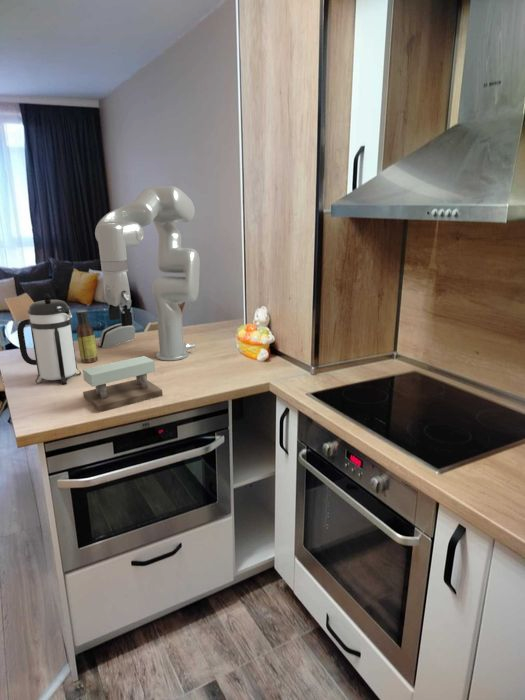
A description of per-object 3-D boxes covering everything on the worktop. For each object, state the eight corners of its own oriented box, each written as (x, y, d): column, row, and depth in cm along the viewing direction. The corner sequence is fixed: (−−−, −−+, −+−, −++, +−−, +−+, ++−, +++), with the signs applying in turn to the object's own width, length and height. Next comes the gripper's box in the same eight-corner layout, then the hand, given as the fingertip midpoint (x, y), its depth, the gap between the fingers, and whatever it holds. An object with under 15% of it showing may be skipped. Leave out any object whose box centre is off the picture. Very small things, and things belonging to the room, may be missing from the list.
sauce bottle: (101, 358, 183) (95, 309, 177) (92, 363, 177) (86, 312, 172) (85, 358, 184) (79, 308, 179) (77, 363, 178) (70, 312, 173)
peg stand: (144, 383, 157) (142, 363, 155) (162, 395, 146) (160, 374, 144) (83, 397, 145) (81, 376, 143) (99, 412, 135) (96, 389, 133)
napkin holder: (127, 338, 213) (130, 318, 208) (134, 343, 211) (137, 323, 206) (96, 346, 200) (98, 326, 195) (103, 352, 198) (106, 331, 193)
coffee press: (76, 368, 173) (65, 287, 164) (86, 381, 160) (75, 294, 151) (24, 377, 164) (10, 292, 155) (30, 391, 151) (15, 300, 142)
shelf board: (92, 386, 135) (91, 375, 134) (83, 380, 140) (82, 369, 139) (155, 371, 147) (154, 360, 146) (145, 366, 152) (144, 355, 151)
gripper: (92, 264, 142) (99, 319, 148) (113, 271, 129) (120, 330, 135) (115, 262, 147) (121, 315, 152) (138, 268, 134) (144, 325, 139)
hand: (121, 322), depth 143 cm, fingers open, 9 cm apart
